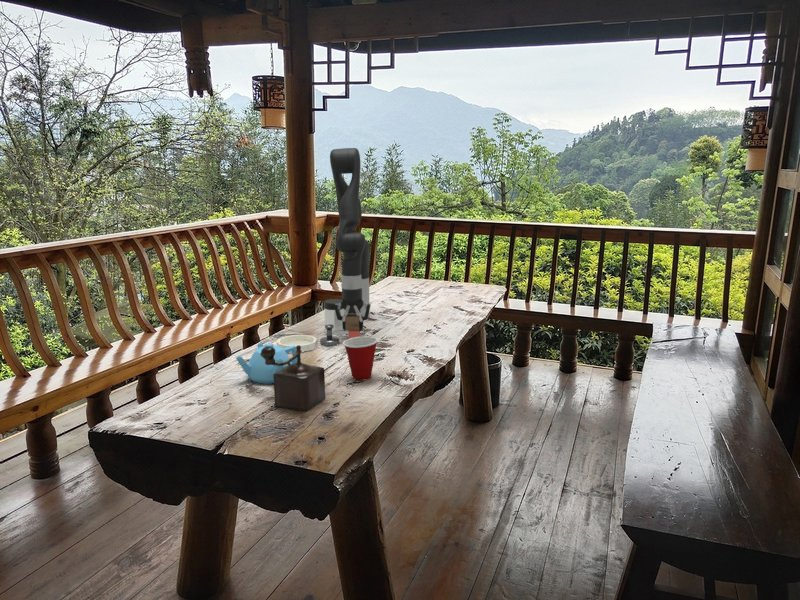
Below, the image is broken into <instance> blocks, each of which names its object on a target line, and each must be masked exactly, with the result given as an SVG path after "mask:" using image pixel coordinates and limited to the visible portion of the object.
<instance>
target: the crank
mask: <svg viewBox="0 0 800 600" xmlns="http://www.w3.org/2000/svg"><path fill="white" fill-rule="evenodd" d="M333 333H334V334H333ZM333 333H332V334H333V335H335V336H336V335H346V334H349V335H348V339H350V338H354V337H361V334H360V333H361V331H359V330H333Z"/></svg>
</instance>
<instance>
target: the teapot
mask: <svg viewBox="0 0 800 600" xmlns="http://www.w3.org/2000/svg"><path fill="white" fill-rule="evenodd" d="M267 346H270V347H273V348H274V349H275V355H274V359H275V360H276V361H275V363H282V362H285V361H287V360H289V359H290V358H291V357H290V356H289V355H288V354H290V353H289V352H291V351H292V353H291V354H292V357H293V356H294V355H295V353H296V350H297V349H296V346H295V345H293V346H290V347H287V348H284V349H283V348H281V347H279V346H277V345H274V343H273V342H272V343H271V342H268V343H265V344H263V343H262V342H260V343H259V342H258V343H257V348H255V351H254V352H253V353H252V355H251V357H250V359H249V360H248V363H247V362H246V360H245V359H244V358H243V356H242V355H239V356H236V357H235V359H236V361H237V362H238V364H239V365H240V367H241V369H242V370H243V372H244V373H245V375H247V377H248V378H249V379H250V380H252V382H253V383H256V382H258V383H257V384H261V383H263V385H268V384H269V385H271V384H272V383H273V384H274V377H273V374H274V373H276V372H278V371H280V370H282V368H283V367H285V366H287V365H288V364H286V365H283V366H275V365H266V364H265V359H264V358H263V357H261V355H260V354H261V350H262V349H263V348H264V347H267ZM300 359H301V360H302V358H301V357H300ZM296 362H297V357H296V358H295V359H294V360H293V361H291V362H290V364H293V363H296ZM273 384H272V385H273Z"/></svg>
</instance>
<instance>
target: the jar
mask: <svg viewBox="0 0 800 600" xmlns="http://www.w3.org/2000/svg"><path fill="white" fill-rule="evenodd" d="M341 302H342V298H341V299H340V298H339V299H338V298H331V299H326V300H324V301H323V305H324V307H323V308H324V310H323V311H324V312H323V313H324V326H325V325H328V324H331V325H334V328H332V334H333V330H344V329H343V324H342V321H341V320H338V319H337V316H336V312H335V309H334V305H335V304H336V303H337V304H338V303H341ZM339 310H340V314H341V316H344V313H345V310H344V309H343V307H342V306H340V309H339ZM324 333H326V334H327V329H326V328H325V327H324Z"/></svg>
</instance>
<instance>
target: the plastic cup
mask: <svg viewBox="0 0 800 600" xmlns="http://www.w3.org/2000/svg"><path fill="white" fill-rule="evenodd" d="M378 341H379V338H377V337H375V336H368V335H367V336H366V335H365V336H360V337H354V338H350V339H349V338H347V339H345V340H344V341H342V346H343V347H344V349H345V351H346V354H347V359H348V364H349V365H348V366H349V368H350V372H351V373H350V374H351V377H352V379H354V380H356V381H367V380H369V379H371V378H372V373H373V367H374V363H375V362H374V361H375V353H376V349H377V344H378Z"/></svg>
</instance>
